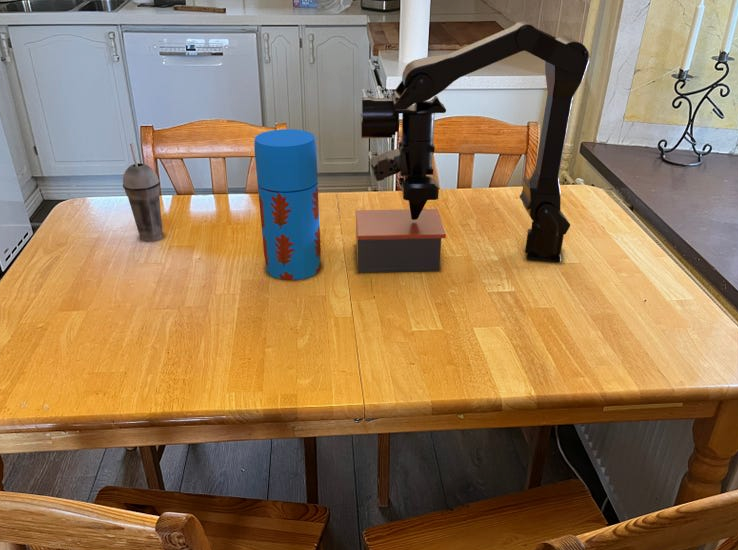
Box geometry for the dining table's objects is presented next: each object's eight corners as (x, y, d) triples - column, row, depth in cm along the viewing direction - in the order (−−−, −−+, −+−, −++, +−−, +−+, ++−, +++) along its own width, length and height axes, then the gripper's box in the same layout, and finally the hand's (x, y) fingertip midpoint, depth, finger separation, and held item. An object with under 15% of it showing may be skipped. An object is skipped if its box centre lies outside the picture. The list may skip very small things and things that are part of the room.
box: (431, 243, 142) (433, 212, 138) (439, 271, 132) (441, 238, 128) (356, 245, 142) (355, 214, 138) (358, 272, 131) (357, 240, 127)
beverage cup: (173, 230, 148) (158, 137, 137) (162, 244, 142) (144, 148, 131) (141, 229, 149) (122, 136, 138) (128, 243, 143) (107, 146, 132)
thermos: (312, 283, 128) (305, 148, 114) (257, 277, 130) (244, 144, 116) (327, 258, 137) (322, 130, 123) (275, 253, 138) (265, 127, 124)
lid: (437, 212, 138) (437, 208, 138) (445, 238, 128) (445, 234, 128) (355, 213, 138) (355, 210, 137) (357, 239, 127) (357, 235, 127)
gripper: (370, 123, 131) (370, 202, 140) (375, 153, 116) (375, 239, 124) (428, 123, 131) (424, 201, 140) (441, 153, 116) (436, 238, 125)
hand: (414, 219), depth 132 cm, fingers closed
